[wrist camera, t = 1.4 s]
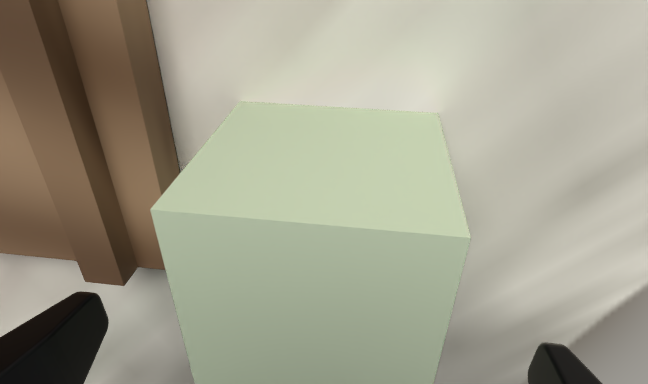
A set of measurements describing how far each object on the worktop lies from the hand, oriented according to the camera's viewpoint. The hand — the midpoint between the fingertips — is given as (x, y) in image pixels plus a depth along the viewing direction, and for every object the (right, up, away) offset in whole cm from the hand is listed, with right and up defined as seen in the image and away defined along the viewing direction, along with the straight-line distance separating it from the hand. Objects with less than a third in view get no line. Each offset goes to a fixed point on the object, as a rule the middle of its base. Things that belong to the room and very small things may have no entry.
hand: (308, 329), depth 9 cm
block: (+1, +2, +4) cm, 5 cm away
